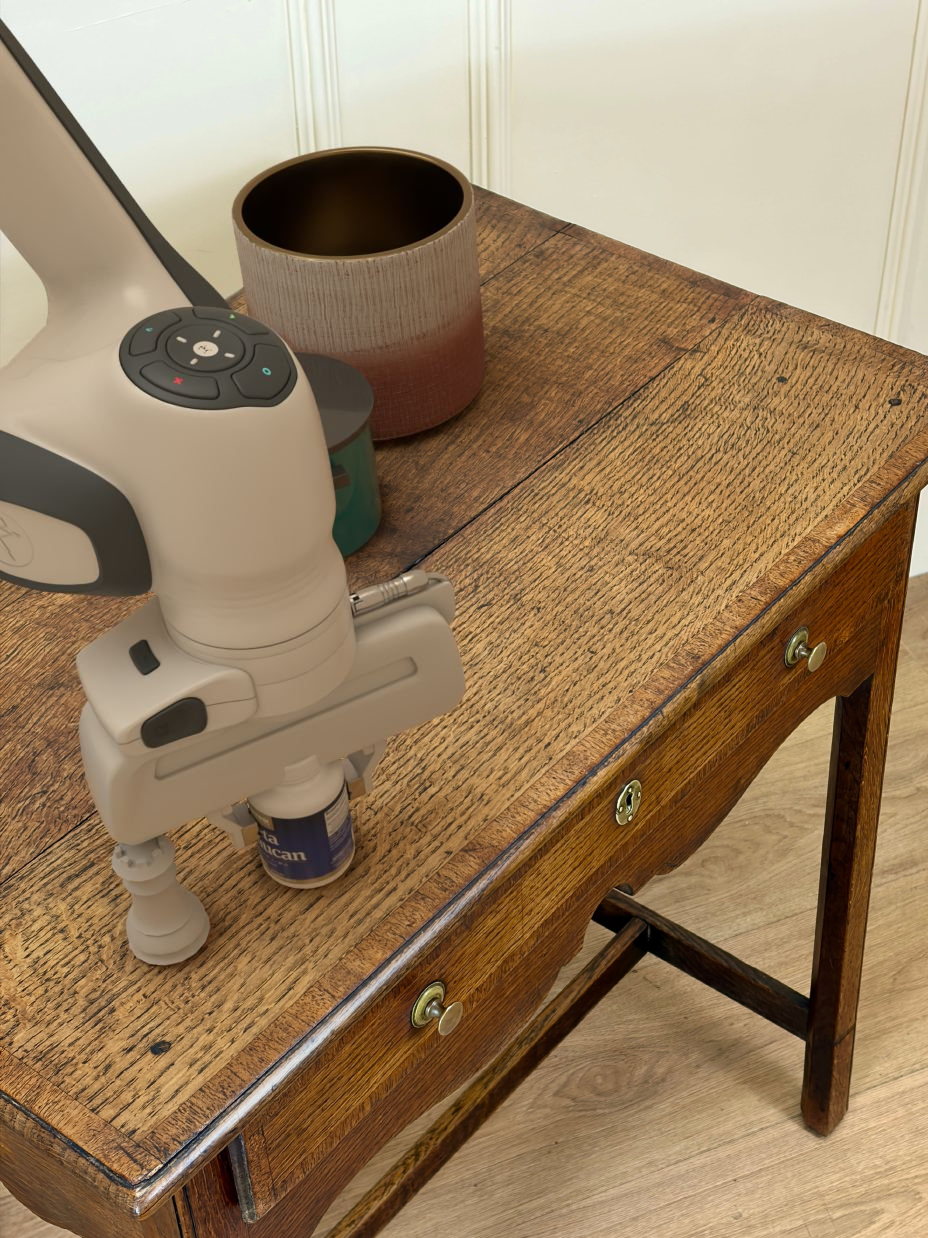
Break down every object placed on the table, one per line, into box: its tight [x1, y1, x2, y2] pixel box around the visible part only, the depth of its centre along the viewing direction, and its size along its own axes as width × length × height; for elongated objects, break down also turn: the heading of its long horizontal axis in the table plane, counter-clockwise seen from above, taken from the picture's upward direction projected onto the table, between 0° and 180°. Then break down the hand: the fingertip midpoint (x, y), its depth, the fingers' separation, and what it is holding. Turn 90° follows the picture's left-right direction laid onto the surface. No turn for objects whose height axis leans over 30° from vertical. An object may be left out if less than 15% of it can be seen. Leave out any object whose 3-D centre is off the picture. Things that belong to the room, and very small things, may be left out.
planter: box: [231, 145, 486, 443], centre depth 112 cm, size 18×18×16 cm
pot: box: [293, 352, 383, 559], centre depth 103 cm, size 13×15×10 cm
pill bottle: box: [246, 755, 356, 890], centre depth 81 cm, size 5×5×10 cm
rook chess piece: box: [110, 834, 211, 966], centre depth 78 cm, size 4×4×8 cm
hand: (300, 813), depth 82 cm, fingers closed on pill bottle, 5 cm apart
